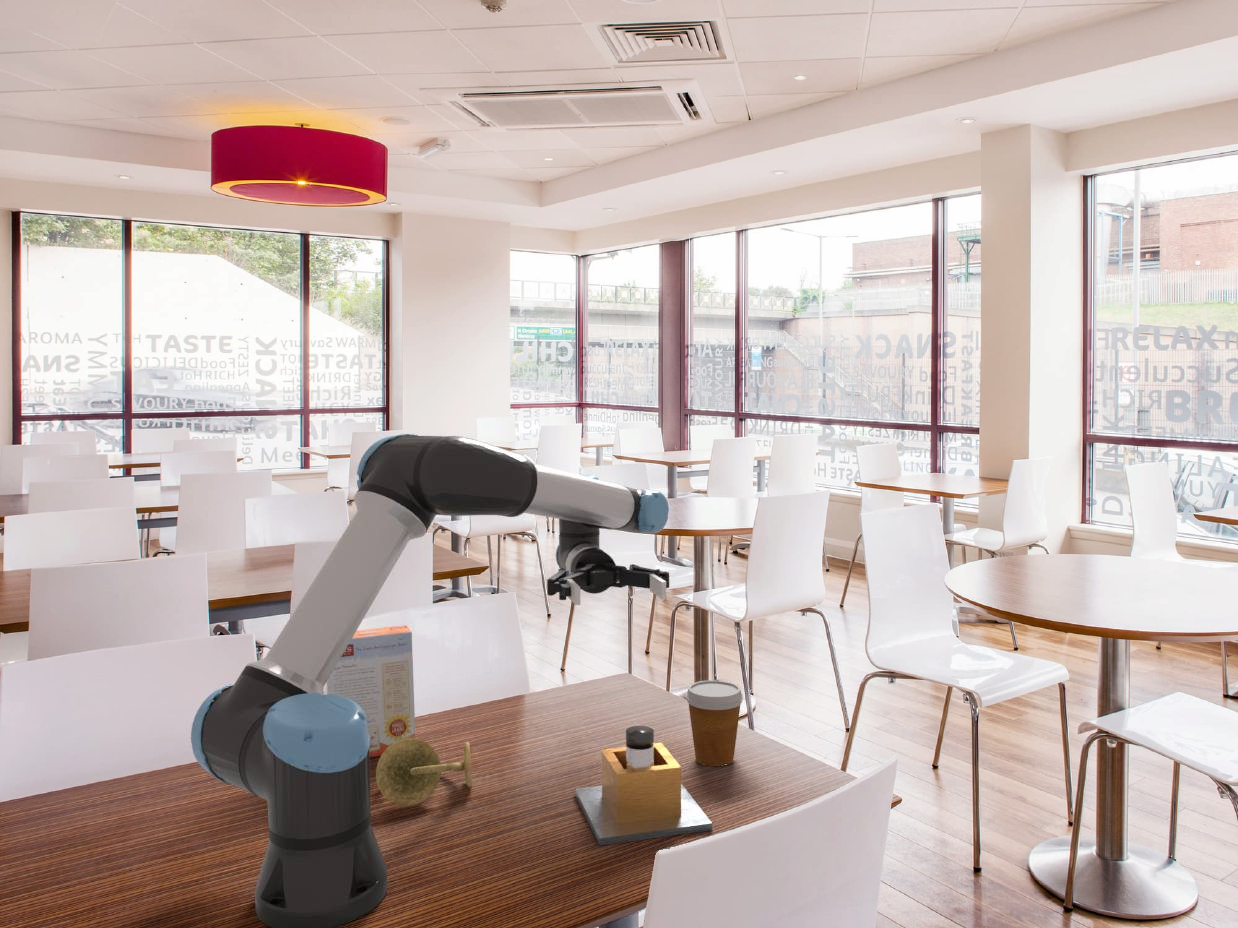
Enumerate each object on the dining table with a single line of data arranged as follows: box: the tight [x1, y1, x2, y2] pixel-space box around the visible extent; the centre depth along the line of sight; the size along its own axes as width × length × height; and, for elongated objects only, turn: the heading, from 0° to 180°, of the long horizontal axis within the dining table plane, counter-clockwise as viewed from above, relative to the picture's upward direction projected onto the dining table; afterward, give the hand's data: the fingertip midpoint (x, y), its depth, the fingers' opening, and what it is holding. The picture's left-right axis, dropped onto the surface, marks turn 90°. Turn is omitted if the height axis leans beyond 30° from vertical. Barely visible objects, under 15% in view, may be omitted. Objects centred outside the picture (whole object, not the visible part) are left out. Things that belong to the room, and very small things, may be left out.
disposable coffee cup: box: [685, 679, 744, 767], centre depth 147 cm, size 10×10×12 cm
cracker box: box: [326, 624, 417, 759], centre depth 152 cm, size 14×6×21 cm, turn 111°
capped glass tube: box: [625, 725, 655, 769], centre depth 129 cm, size 4×4×12 cm
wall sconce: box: [375, 738, 473, 807], centre depth 132 cm, size 14×10×25 cm
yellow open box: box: [574, 742, 713, 846], centre depth 129 cm, size 16×16×8 cm
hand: (621, 593), depth 136 cm, fingers open, 13 cm apart
